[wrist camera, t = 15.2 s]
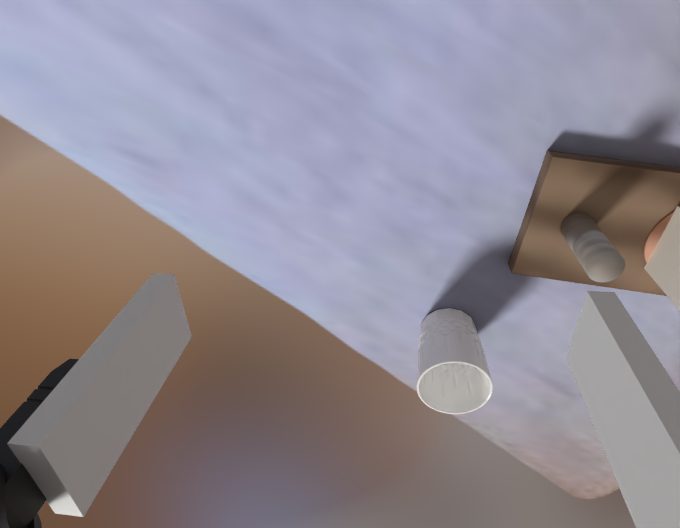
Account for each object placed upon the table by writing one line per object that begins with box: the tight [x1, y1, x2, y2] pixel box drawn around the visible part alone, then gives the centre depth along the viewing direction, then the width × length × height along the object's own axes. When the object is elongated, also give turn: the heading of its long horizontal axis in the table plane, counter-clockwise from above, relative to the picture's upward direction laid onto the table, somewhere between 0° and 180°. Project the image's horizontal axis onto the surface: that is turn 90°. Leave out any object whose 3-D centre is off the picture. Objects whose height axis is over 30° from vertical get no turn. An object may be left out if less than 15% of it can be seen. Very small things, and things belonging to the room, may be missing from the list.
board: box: [508, 151, 680, 296], centre depth 42 cm, size 13×21×10 cm, turn 85°
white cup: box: [417, 308, 493, 414], centre depth 52 cm, size 8×8×10 cm
